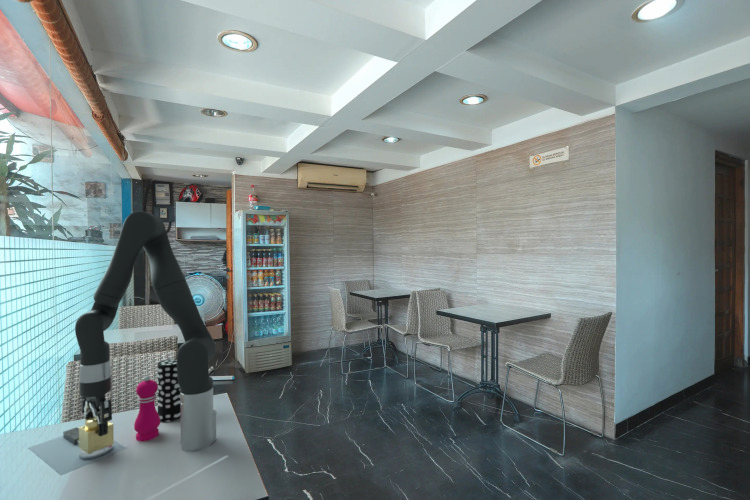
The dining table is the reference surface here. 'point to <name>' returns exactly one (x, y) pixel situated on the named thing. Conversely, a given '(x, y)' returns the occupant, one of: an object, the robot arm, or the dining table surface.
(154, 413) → the pepper mill
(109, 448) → the metal ladle
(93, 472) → the dining table surface
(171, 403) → the spotted tube
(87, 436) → the brass knob block
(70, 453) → the mat
